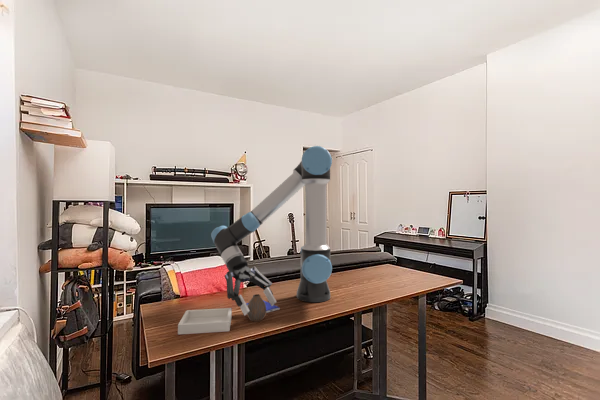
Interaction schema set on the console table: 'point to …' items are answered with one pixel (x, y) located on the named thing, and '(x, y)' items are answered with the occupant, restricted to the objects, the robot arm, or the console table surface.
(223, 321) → the box
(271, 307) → the hard drive
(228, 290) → the robot arm
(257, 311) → the vase
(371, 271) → the console table surface
